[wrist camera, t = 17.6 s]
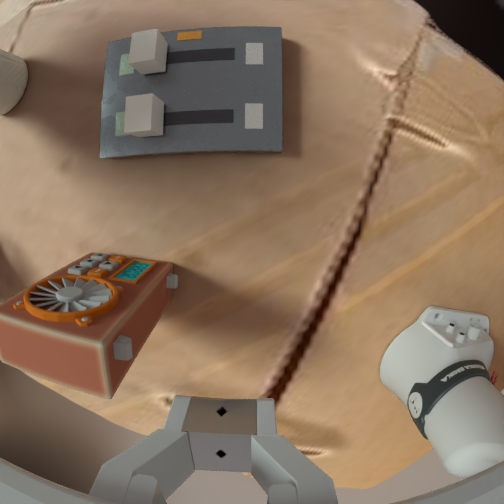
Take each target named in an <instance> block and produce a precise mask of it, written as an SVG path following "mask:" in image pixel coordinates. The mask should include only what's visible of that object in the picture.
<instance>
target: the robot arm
mask: <svg viewBox="0 0 504 504" xmlns="http://www.w3.org/2000/svg"><path fill="white" fill-rule="evenodd" d="M436 314H437V316H436ZM435 316H436V317H435ZM493 352H494V343H493V340H492V338H491V337H490V336H489V318H488V317H487V316H486V315H485V314H480V313H473V312H467V311H460V310H454V309H448V308H442V307H435V306H430V307H428V308H427V309H426V310H425V311H424V312H423V313H422V314H421V316H420V317H419V318H418V320H417V321H416V322H415V323H414V324H412V325H411V326H410V327H408V328H407V329H405V330H404V331H403V332H402V333H400V334H399V335H398V336H397V337H396V338H395V339H394V341H393V342H392V343H391V344H390V346H389V347H388V349H387V350H386V352H385V354H384V356H383V359H382V362H381V366H380V377H381V381H382V383H383V385H384V386H385V387H386V388H387V389H388V390H390V391H391V392H392V393H393V394H395V395H396V396H397V397H398V398H399V400H400V401H401V402H402V403H403V404H404V405H405V406H406V407H407V408H408V410H409V412H410V414H411V417H412V419H413V421H414V423H415V424H416V426H417V428H418V429H419V431H420V432H421V434H422V435H423V437H424V438H426V439H428V440H429V442H430V443H431V445H432V447H433V449H434V450H435V452H436V454H437V455H438V457H439V459H440V460H441V463H442V464H443V466H444V468H445V469H446V470H447V471H448V472H449V473H451V474H453V475H456V476H462V477H463V476H470V477H468V478H465V479H463V480H461V481H458V482H456V483H453V484H451V485H448V486H446V487H443V488H440V489H437V490H434V491H431V492H429V493H426V494H423V495H419V496H416V497H413V498H409V499H406V500H403V501H399V502H395V503H391V504H504V395H503V394H502V393H501V392H500V391H499V390H498V389H497V388H495V387H494V385H495V383H496V380H497V378H498V375H499V374H497V376H496V378H495V373H496V371H494V372H493V375H492V377H491V379H490V376H489V373H488V370H489V367H490V364H491V361H492V357H493ZM494 379H495V380H494ZM195 470H210V471H231V472H251V474H252V475H253V477H254V478H255V479H256V481H257V482H258V483H259V485H260V486H261V487H262V489H263V490H264V491H265V492H266V494H267V495H268V500H267V504H338V500H337V496H336V492H335V487H334V483H333V479H332V478H331V477H329V476H328V475H327V474H326V473H325V472H323V471H322V470H321V469H320V468H319V467H317V466H316V465H315V464H314V463H313V462H312V461H310V460H309V459H308V458H307V457H306V456H305V455H304V454H302V453H301V452H300V451H299V450H298V449H297V448H296V447H295V446H294V445H292V444H291V443H290V442H289V441H288V440H287V439H286V438H285V437H284V436H283V435H277V428H276V417H275V405H274V399H273V398H265V399H257V400H256V399H223V398H209V397H196V396H183V395H176V396H175V397H174V399H173V402H172V405H171V408H170V411H169V414H168V417H167V420H166V423H165V426H164V429H158V430H156V431H155V432H153V433H152V434H150V435H149V436H147V437H146V438H144V439H143V440H141V441H140V442H138V443H136V444H135V445H134V446H132V447H130V448H129V449H127V450H125V451H124V452H123V453H121V454H119V455H117V456H116V457H114V458H112V459H111V460H109V461H107V462H106V463H104V464H103V465H102V467H101V469H100V471H99V473H98V475H97V478H96V480H95V482H94V484H93V486H92V489H91V491H90V493H89V495H87V494H84V493H81V492H78V491H75V490H72V489H69V488H67V487H64V486H61V485H59V484H56V483H54V482H51V481H48V480H46V479H44V478H41V477H39V476H37V475H35V474H32V473H30V472H28V471H26V470H24V469H21V468H19V467H17V466H15V465H13V464H11V463H9V462H8V461H6V460H4V459H2V458H0V504H167V503H166V501H165V500H166V499H167V498H168V497H169V496H170V495H171V494H172V493H173V492H174V491H175V490H176V489H177V488H178V487H179V486H180V485H181V484H182V483H183V482H184V481H185V480H186V479H187V478H188V477H189V476H190V475H191V474H192V473H193V472H194V471H195ZM471 475H472V476H471Z"/></svg>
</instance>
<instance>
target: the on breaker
mask: <svg viewBox="0 0 504 504" xmlns="http://www.w3.org/2000/svg"><path fill="white" fill-rule="evenodd" d="M163 117H164V102H163V101H162V100H161V99H159V98H158V97H157V96H155V95H154V94H153V93H150V94H142V95H135V96H128V97H126V105H125V126H124V133H127V134H130V135H133V136H136V137H147V136H159V135H163Z"/></svg>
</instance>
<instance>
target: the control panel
mask: <svg viewBox="0 0 504 504" xmlns="http://www.w3.org/2000/svg"><path fill="white" fill-rule="evenodd" d="M177 287H178V275H177V274H173V264H172V263H170V262H161V261H153V260H145V259H137V258H129V257H126V256H119V255H108V254H103V253H89V254H87V255H85V256H84V257H82V258H80V259H78V260H76V261H74V262H72V263H71V264H69V265H67V266H65V267H63V268H61V269H60V270H58V271H56V272H54V273H52V274H51V275H49V276H47V277H45V278H44V279H42V280H40V281H38V282H37V283H35V284H33V285H31V286H30V287H28V288H26V289H24V290H23V291H21V292H19V293H18V294H16V295H14V296H13V297H11V298H9V299H8V300H6V301H4V302H3V303H1V304H0V359H1V361H2V362H3V363H6V364H8V365H10V366H13V367H15V368H17V369H20V370H22V371H25V372H27V373H30V374H32V375H35V376H37V377H40V378H43V379H46V380H48V381H51V382H54V383H57V384H60V385H63V386H66V387H69V388H72V389H75V390H78V391H82V392H85V393H88V394H92V395H95V396H99V397H102V398H106V399H112V397H113V395H114V394H115V392H116V390H117V389H118V387H119V385H120V383H121V382H122V380H123V378H124V377H125V375H126V373H127V372H128V370H129V368H130V367H131V365H132V363H133V362H134V360H135V358H136V357H137V355H138V353H139V352H140V350H141V348H142V347H143V345H144V343H145V342H146V340H147V338H148V337H149V335H150V334H151V332H152V330H153V329H154V327H155V325H156V324H157V322H158V321H159V319H160V317H161V316H162V314H163V313H164V311H165V309H166V308H167V306H168V305H169V303H170V302H171V300H172V288H174V289H175V288H177Z"/></svg>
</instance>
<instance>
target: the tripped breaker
mask: <svg viewBox="0 0 504 504" xmlns="http://www.w3.org/2000/svg"><path fill="white" fill-rule="evenodd" d="M167 45H168V43H167V41H166V40H165V38H164V37H163V36H162V34H161V33H160V31H159V30H158V29H151V30H145V31H140V32H134V33H132V38H131V45H130V53H129V64H130V65H131V66H132V67H133V68H135V69H136V70H137V71H138V72H139V73H140V74H149V73H157V72H165V70H166V56H167Z"/></svg>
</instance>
